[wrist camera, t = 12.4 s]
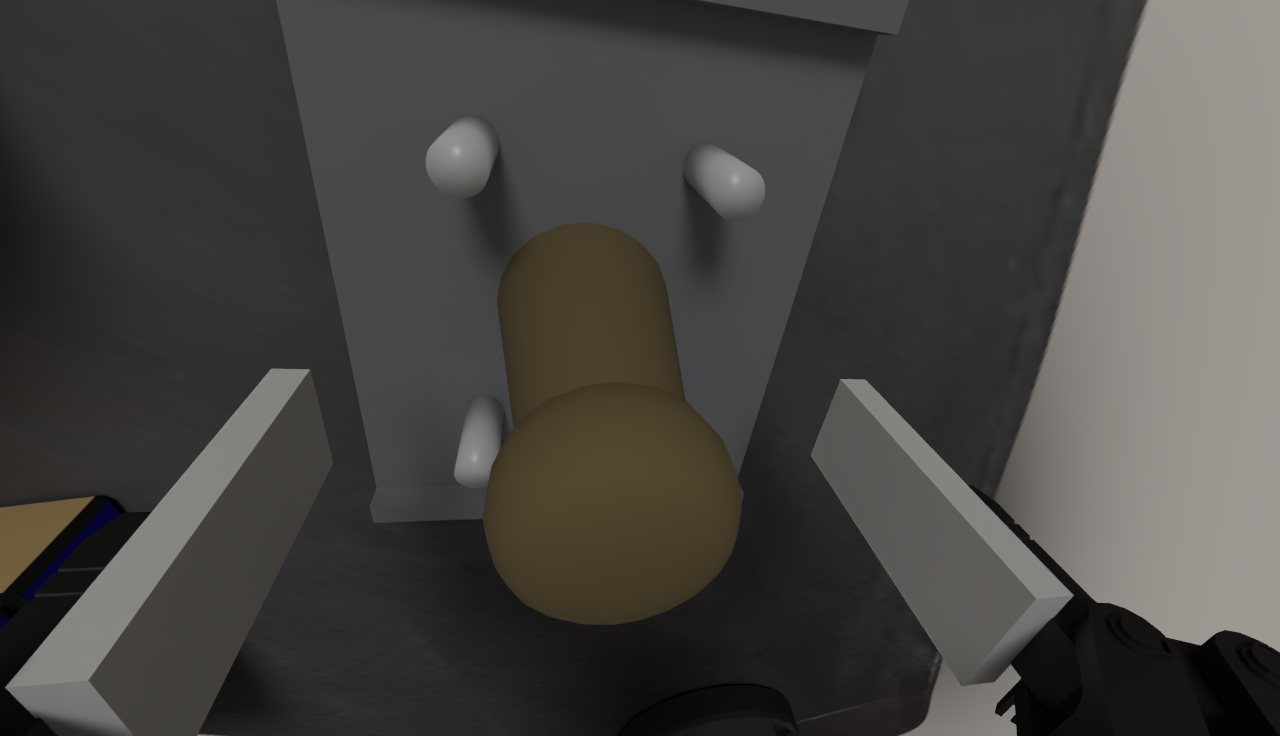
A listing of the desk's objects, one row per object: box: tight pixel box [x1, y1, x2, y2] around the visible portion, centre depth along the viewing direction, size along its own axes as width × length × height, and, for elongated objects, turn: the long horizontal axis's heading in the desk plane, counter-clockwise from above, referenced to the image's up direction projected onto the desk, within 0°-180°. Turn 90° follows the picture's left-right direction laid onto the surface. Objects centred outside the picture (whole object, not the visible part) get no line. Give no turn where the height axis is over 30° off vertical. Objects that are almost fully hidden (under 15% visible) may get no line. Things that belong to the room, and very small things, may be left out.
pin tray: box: [276, 0, 909, 523], centre depth 17 cm, size 20×16×5 cm
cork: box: [482, 223, 742, 625], centre depth 14 cm, size 6×6×11 cm
